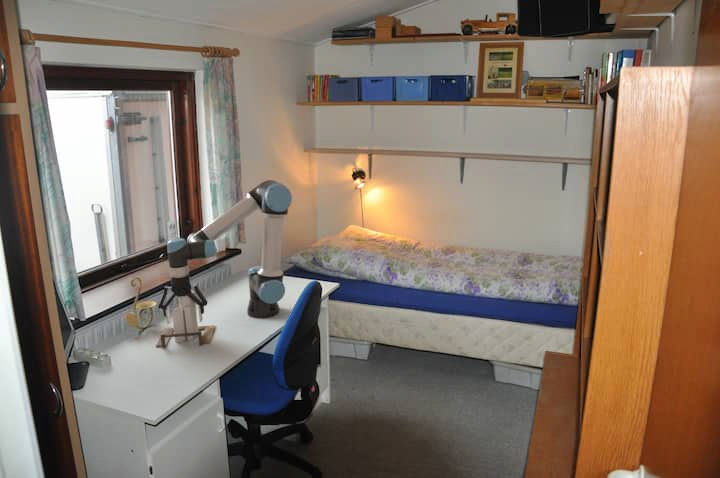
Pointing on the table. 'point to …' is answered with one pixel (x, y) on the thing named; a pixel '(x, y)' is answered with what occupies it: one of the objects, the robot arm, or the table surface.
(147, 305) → the wall sconce
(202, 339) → the brown wooden stand
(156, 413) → the table surface
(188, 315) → the candle
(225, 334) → the table surface
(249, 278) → the robot arm
